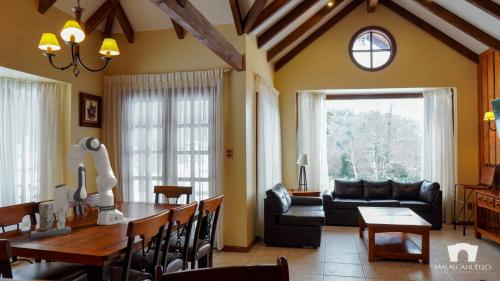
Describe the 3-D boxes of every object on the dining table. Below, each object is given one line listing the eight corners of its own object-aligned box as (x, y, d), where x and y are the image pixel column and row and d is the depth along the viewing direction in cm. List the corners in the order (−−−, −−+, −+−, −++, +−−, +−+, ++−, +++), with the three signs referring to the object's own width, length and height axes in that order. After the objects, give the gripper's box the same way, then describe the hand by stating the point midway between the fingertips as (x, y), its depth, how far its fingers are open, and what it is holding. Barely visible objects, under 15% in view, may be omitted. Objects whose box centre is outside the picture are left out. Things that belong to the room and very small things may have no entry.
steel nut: (64, 231, 254) (63, 220, 254) (64, 233, 250) (64, 221, 250) (56, 232, 251) (56, 221, 251) (57, 234, 247) (57, 222, 248)
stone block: (49, 230, 257) (49, 203, 258) (38, 231, 256) (38, 204, 256) (54, 226, 270) (54, 200, 270) (44, 227, 269) (44, 201, 269)
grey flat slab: (69, 230, 258) (69, 225, 258) (71, 232, 250) (71, 228, 250) (30, 235, 244) (30, 230, 244) (31, 238, 236) (31, 233, 236)
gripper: (67, 208, 244) (67, 228, 244) (63, 205, 261) (63, 223, 261) (57, 210, 240) (57, 230, 240) (54, 206, 257) (54, 224, 257)
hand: (60, 226), depth 251 cm, fingers closed on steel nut, 4 cm apart
